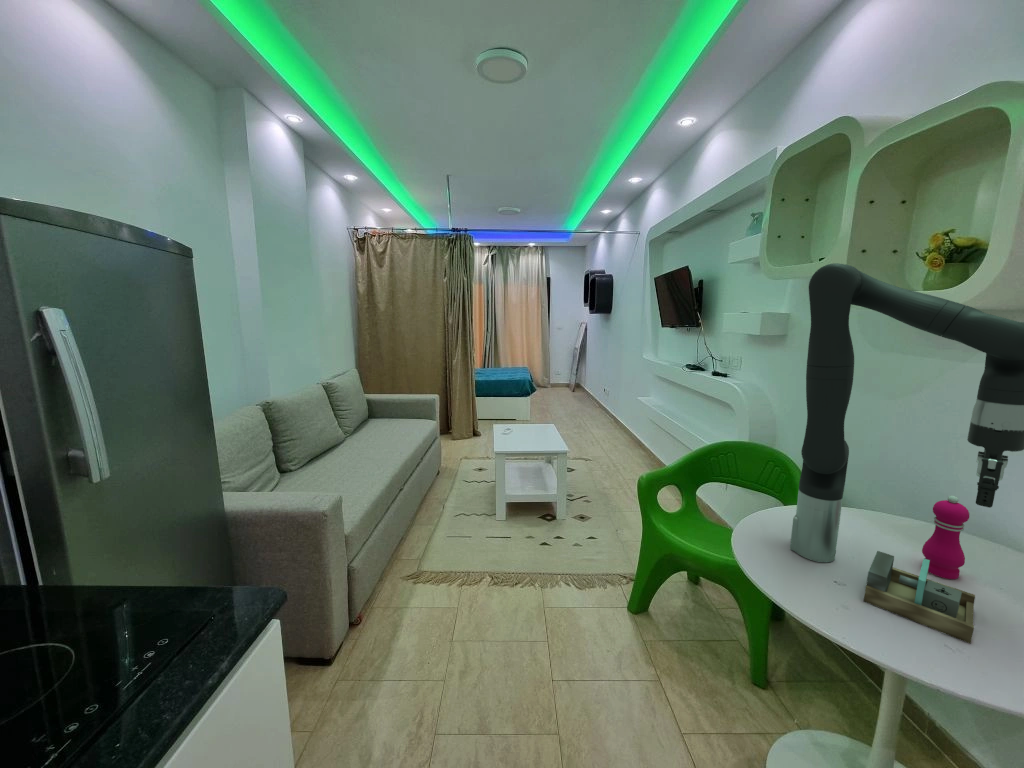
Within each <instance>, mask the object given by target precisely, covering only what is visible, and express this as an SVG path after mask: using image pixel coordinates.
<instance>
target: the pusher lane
mask: <svg viewBox="0 0 1024 768" xmlns="http://www.w3.org/2000/svg"><path fill="white" fill-rule="evenodd" d="M894 561H895V555H893V554H888V553H886V552H883V551H880V550H877V551H876V554H875V556H874V558H873V560H872V562H871V564H870V567H869V570H868V572H867V579H866V586H865V590H864V596H863V602H865V603H867V604H869V605H872V606H873V607H877V608H880V609H883V610H884V611H886V612H890V613H892V614H894V615H897V616H899V617H902V618H903V619H906V620H909V621H912V622H914V623H917V624H920V625H922V626H924V627H927V628H930V629H931V630H935V631H937V632H940V633H942V634H945V635H947V636H950V637H952V638H954V639H957V640H959V641H962V642H964V643H967V644H972V640H973V639H972V638H973V634H974V629H975V624H974V613H975V612H974V611H975V610H974V606H975V599H976V594H974V593H971V592H967V591H965V590H961V589H958V588H955V587H952V586H950V585H947V584H944V583H941V582H938V581H935V580H933V579H929V578H927V580H926V584H927V582H928V580H931V581H933V582H936V583H939V584H942V585H945V586H947V587H950V588H953V589H956V590H959V591H961V592H962V594H961V599H960V604H959V609H958V614H957V617H956V618H953V617H951V616H948V615H945V614H943V613H940V612H937V611H935V610H932V609H929V608H927V607H924V606H921V605H919V604H916V603H915V597H916V591H917V588H915V587H912V586H909V585H906V584H903V583H900V582H899V577H900V575H902V576H905V577H908V578H911V579H914V580H917V581H918V579H919V575H917V574H913V573H911V572H908V571H905V570H904V569H899V568H897V567H893V566H894ZM925 586H926V585H925Z"/></svg>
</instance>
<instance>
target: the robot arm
mask: <svg viewBox="0 0 1024 768" xmlns="http://www.w3.org/2000/svg"><path fill="white" fill-rule="evenodd" d="M808 297H809V309H810V310H809V312H810V313H809V314H810V331H809V337H808V347H807V359H806V371H805V372H806V373H805V386H806V387H805V391H806V392H805V395H806V396H805V398H806V412H807V413H806V415H807V417H806V424H805V425H806V426H805V432H804V438H803V443H802V447H801V452H800V453H801V457H802V466H801V471H800V477H799V481H798V482H799V483H798V492H797V493H798V494H797V503H796V511H795V515H794V516H793V518H792V525H791V527H792V528H791V536H790V545H789V549H790V551H793V552H795V553H796V554H797V555H800V556H801V557H802V558H805V559H808V560H809V561H810V560H811V561H813V562H818V563H831V562H833V561H835V558H836V554H837V544H838V537H839V536H838V535H839V530H840V523H841V522H840V521H841V514H842V507H843V498H844V492H845V487H846V486H845V485H846V478H847V471H848V463H849V456H850V447H849V445H848V442H847V441H846V440H845V419H846V414H847V412H848V406H849V404H850V400H851V394H852V389H853V384H854V383H853V382H854V373H855V372H854V371H855V351H854V345H853V339H852V336H851V332H850V331H851V330H850V314H851V307H852V306H856V307H861V308H865V309H869V310H872V311H875V312H878V313H881V314H882V315H886V316H888V317H889V318H892V319H894V320H896V321H899V322H901V323H904V324H905V325H907V326H910V327H913V328H915V329H917V330H921V331H922V332H923V331H924V332H927V333H929V334H932V335H935V336H938V337H941V338H945V339H948V340H950V341H951V340H952V341H956V342H958V343H960V344H964V345H965V346H967V347H971V348H972V349H975V350H977V351H980V352H982V353H984V354H985V361H984V370H983V373H982V375H981V377H980V381H979V385H978V390H977V395H976V400H975V403H974V406H973V408H972V412H971V418H970V423H969V429H968V434H967V439H966V440H967V442H968V443H969V444H971V445H972V446H976V447H981V448H984V449H983V451H979V450H978V453H977V458H976V463H977V466H976V467H977V469H976V476H977V477H978V482H976V483H977V484H976V485H977V493H976V497H975V498H976V499H975V504H976V505H977V506H982V507H985V508H993V505H994V500H995V496H996V491H998V490H999V488H1000V486H999V484H1000V483H999V482H1001V481H1003V479H1004V474H1005V469H1006V468H1007V467H1008V466H1007V465H1008V462H1009V456H1008V455H1005V454H1003V453H1004V452H1012V453H1013V452H1015V453H1016V452H1023V451H1024V322H1023V321H1017V320H1014V319H1009V318H1007V317H1006V318H1005V317H1002V316H998V315H994V314H991V313H990V314H989V313H986V312H984V311H981V309H977V308H975V307H972V306H971V305H970V306H969V305H966V304H963V303H960V302H956V301H953V300H949V299H945V298H943V297H940V296H935V295H930V294H927V293H924V292H919V291H915V290H911V289H907V288H903V287H900V286H896V285H893V284H890V283H887V282H885V281H882V280H880V279H878V278H874V277H873V276H871V275H869V274H867V273H865V272H863V271H860V270H859V269H857V268H856V267H855V266H852V265H850V264H845V263H834V262H833V263H828V264H825V265H823V266H821V267H819V268H818V269H817V270H816V271H815V272H814V274H812V276H811V278H810V280H809V282H808Z"/></svg>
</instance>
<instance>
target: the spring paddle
mask: <svg viewBox="0 0 1024 768" xmlns="http://www.w3.org/2000/svg"><path fill="white" fill-rule="evenodd" d="M929 563H930V560H927V559H924V558H923V559H922V563H921V569H920V572H919V575H918V576H919V579H918V581H917V580H914V579H911V578H908V577H905V576H902V575H900V577H899V582H900V583H903V584H906V585H909V586H912V587H915V588H917V591H916V597H915V603H916V604H919V605H922V599H923V593H924V589H925V585H926V580H927V579H928V573H929V572H928V568H929Z"/></svg>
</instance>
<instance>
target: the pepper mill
mask: <svg viewBox="0 0 1024 768" xmlns="http://www.w3.org/2000/svg"><path fill="white" fill-rule="evenodd" d="M969 511H970V510H968V508H967V507H966V506H965V505H963V504H961V503H959V498H958V497H957V496H955V495H949V496H947V500H946V499H944V500H943V499H942V500H939V501H937V502H935V503H934V504H933V507H932V513H933V514H934V515H935V516H934V517H933V524H934V525H935V526H934V531H933V533H932V535H931V536H930V537H929V538H928V539H927V540H926V541H925V542H924V544H923V546H922V547H921V548H922V549H921V554H922V555H923V557H924V558H923V559H927V560H930V563H929V568H928V573H929V574H932V575H933V576H936V577H939V578H943V579H946V580H956V579H959V578H960V577H959V576H960V573H961V570H960V568H961V567H964V565H965V563H966V562H965V561H966V556H965V553H964V550H963V548H962V545H961V540H960V534H961V532H963V531H964V528H965V523H967V522H968V521H969V520H970V512H969Z"/></svg>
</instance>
